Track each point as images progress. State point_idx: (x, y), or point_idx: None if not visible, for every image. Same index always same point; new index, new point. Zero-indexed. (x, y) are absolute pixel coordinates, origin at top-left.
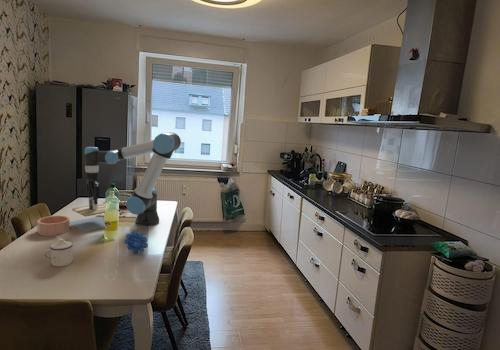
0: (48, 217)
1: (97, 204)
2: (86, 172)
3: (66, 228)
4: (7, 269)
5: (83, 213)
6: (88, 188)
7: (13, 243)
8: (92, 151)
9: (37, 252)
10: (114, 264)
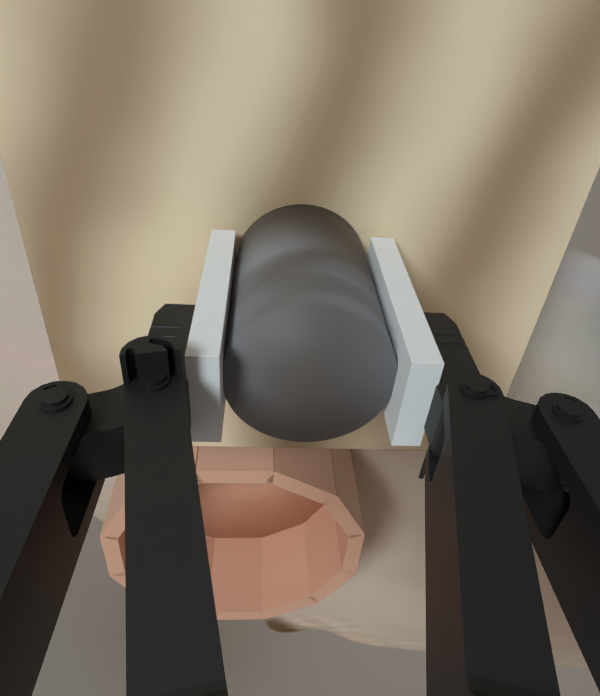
0: (122, 555)
1: (410, 283)
2: None
3: (342, 457)
4: (558, 660)
5: (417, 447)
6: (23, 667)
7: (300, 618)
8: None
9: None
10: None
